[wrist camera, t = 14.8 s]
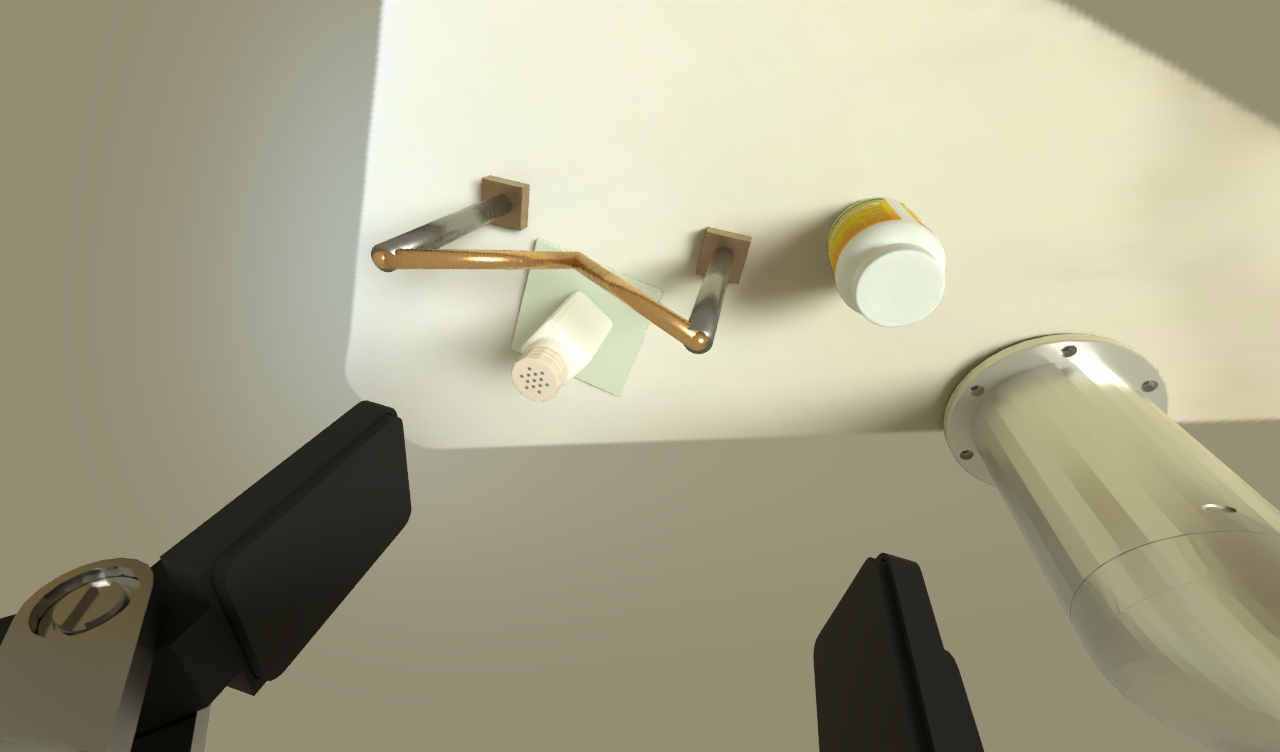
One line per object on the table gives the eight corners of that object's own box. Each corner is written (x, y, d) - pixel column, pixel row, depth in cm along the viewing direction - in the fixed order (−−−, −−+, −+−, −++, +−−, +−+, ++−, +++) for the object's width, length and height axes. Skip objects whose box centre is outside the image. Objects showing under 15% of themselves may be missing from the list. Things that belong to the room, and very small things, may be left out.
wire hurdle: (751, 237, 34) (737, 324, 22) (739, 278, 36) (720, 380, 24) (490, 175, 36) (345, 224, 24) (489, 217, 38) (353, 282, 26)
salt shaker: (585, 352, 41) (539, 417, 33) (549, 317, 40) (492, 376, 32) (618, 322, 39) (577, 384, 31) (580, 285, 38) (528, 339, 30)
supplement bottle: (932, 208, 31) (987, 253, 23) (892, 288, 34) (928, 353, 26) (845, 185, 32) (869, 222, 23) (812, 266, 34) (824, 324, 26)
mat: (663, 291, 38) (661, 294, 37) (621, 393, 43) (619, 396, 43) (540, 237, 38) (536, 239, 37) (513, 345, 43) (510, 349, 43)
